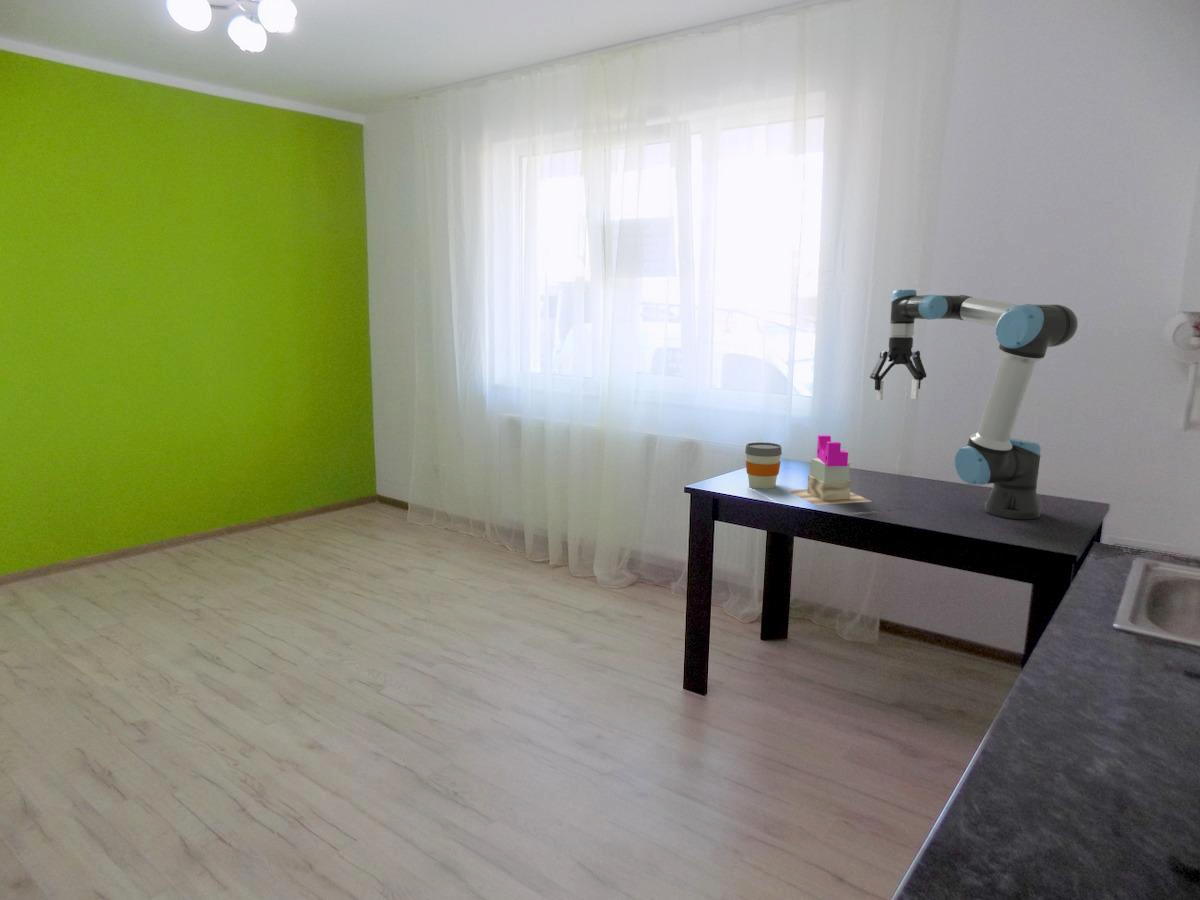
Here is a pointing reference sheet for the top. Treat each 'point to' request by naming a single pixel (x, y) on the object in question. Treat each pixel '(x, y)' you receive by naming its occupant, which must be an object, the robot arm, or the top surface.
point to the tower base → (829, 489)
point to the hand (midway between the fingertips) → (896, 399)
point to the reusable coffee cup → (763, 464)
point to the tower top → (829, 471)
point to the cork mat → (817, 501)
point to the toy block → (831, 452)
